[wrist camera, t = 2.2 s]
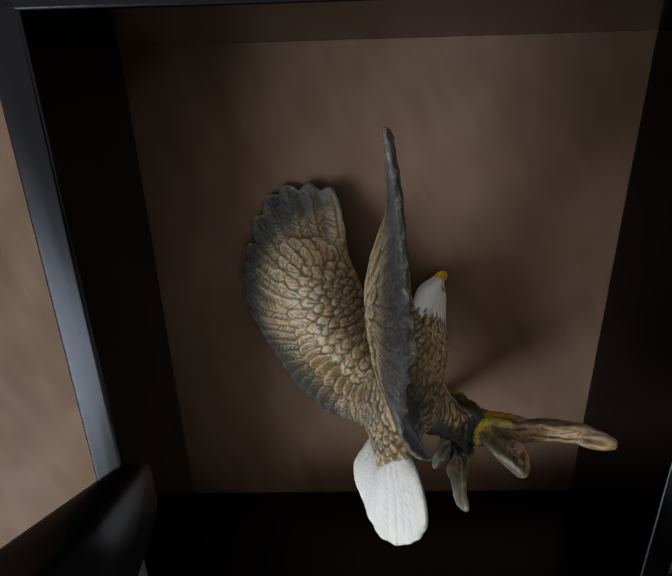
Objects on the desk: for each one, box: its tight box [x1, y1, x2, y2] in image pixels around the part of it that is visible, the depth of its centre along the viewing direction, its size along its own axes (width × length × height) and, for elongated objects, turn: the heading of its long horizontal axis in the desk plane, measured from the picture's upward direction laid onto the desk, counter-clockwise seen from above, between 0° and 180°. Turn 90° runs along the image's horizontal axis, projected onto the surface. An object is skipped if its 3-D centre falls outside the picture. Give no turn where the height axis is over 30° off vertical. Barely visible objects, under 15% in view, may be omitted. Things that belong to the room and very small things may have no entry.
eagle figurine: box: [243, 127, 618, 546], centre depth 12 cm, size 8×7×9 cm
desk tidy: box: [0, 0, 672, 576], centre depth 12 cm, size 16×17×4 cm
